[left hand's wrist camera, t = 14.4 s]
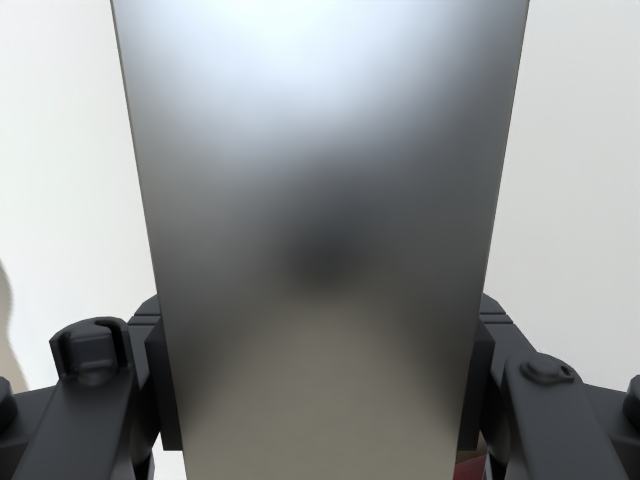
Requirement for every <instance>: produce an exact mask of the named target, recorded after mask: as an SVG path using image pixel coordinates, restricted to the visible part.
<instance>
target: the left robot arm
mask: <svg viewBox="0 0 640 480" xmlns="http://www.w3.org/2000/svg"><path fill="white" fill-rule="evenodd" d="M49 344H50V347H51V351H52V354H53V358H54V362H55V365H56V369H57V372H58V376H59V380H58V382H57V384H56V385H55V386H51V387H47V388H42V389H37V390H33V391H28V392H23V393H18V394H13V391H12V388H11V385H10V382H9V381H8V380H6V379H5V378H4V377H0V480H153V478H154V470H155V465H154V458H153V453H152V447H153V445H154V443H155V441H156V439H157V436H158V434H159V432H160V434H161V439H162V445H163V450H164V451H182V445H181V439H180V433H179V427H178V421H177V414H176V408H175V402H174V396H173V389H172V383H171V377H170V371H169V364H168V358H167V352H166V346H165V339H164V333H163V327H162V321H161V315H160V308H159V302H158V296H157V294H156V295H155V296H153V297H151V298H150V299H148V300H147V301H145V302H143V303H142V305H141V306H140V307H139V308H138V310H137V311H136V312H135V314H134V316H132V317H131V319H130V320H129V321H128V322H127V323H126V322H125V321H124V320H122V319H120V318H115V317H95V318H90V319H85V320H82V321H79V322H76V323H74V324H71V325H69V326H67V327H65V328H64V329H62V330H60V331H59V332H57V333H56V334H55V335H54V336H53V337H52V338H51V339H50V340H49ZM480 430H481V433H482V435H483V437H484V439H485V441H486V444H487V446H488V453H487V458H486V463H485V468H484V473H483V478H482V480H640V375H637V376H635V377H634V378H633V379H631V381H630V384H629V387H628V390H627V393H626V392H621V391H616V390H612V389H607V388H602V387H597V386H592V385H588V384H585V383H583V381H582V379H581V377H580V376H579V375H578V374H577V372H576V371H575V370H574V369H573V368H572V367H570V366H569V365H568V364H566V363H565V362H563V361H562V360H559V359H557V358H555V357H552V356H550V355H547V354H543V353H539V352H537V351H536V350H535V349H534V347H533V346H532V345H531V344H530V342H529V341H528V340H527V339H526V337H525V336H524V335H523V334H522V332H521V331H520V330H519V329H518V327H517V326H516V325H515V324H513V321H512V320H511V318H510V317H509V316H508V315H506V312H505V311H504V310H503V308H502V307H501V306H500V305H499V303H498V302H497V301H496V300H494V299H492V298H491V297H489V296H488V295H486V294H484V293H483V294H482V301H481V307H480V313H479V319H478V326H477V332H476V338H475V344H474V351H473V357H472V363H471V369H470V375H469V382H468V388H467V394H466V400H465V407H464V413H463V419H462V425H461V432H460V438H459V444H458V450H457V451H476V449H477V443H478V438H479V432H480Z"/></svg>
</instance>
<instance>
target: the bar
mask: <svg viewBox="0 0 640 480" xmlns="http://www.w3.org/2000/svg"><path fill="white" fill-rule="evenodd" d="M529 1H530V0H110V3H111V9H112V15H113V22H114V28H115V34H116V40H117V47H118V53H119V59H120V65H121V71H122V78H123V84H124V90H125V96H126V103H127V109H128V115H129V121H130V128H131V134H132V140H133V146H134V152H135V159H136V165H137V171H138V177H139V184H140V190H141V196H142V202H143V209H144V215H145V221H146V227H147V234H148V240H149V246H150V252H151V258H152V265H153V271H154V277H155V283H156V290H157V296H158V302H159V308H160V315H161V321H162V327H163V333H164V339H165V346H166V352H167V358H168V364H169V371H170V377H171V383H172V389H173V396H174V402H175V408H176V414H177V421H178V427H179V433H180V439H181V445H182V452H183V458H184V464H185V470H186V477H187V480H453V475H454V469H455V463H456V457H457V450H458V444H459V438H460V432H461V425H462V419H463V413H464V407H465V400H466V394H467V388H468V382H469V375H470V369H471V363H472V357H473V351H474V344H475V338H476V332H477V326H478V319H479V313H480V307H481V301H482V294H483V288H484V282H485V276H486V269H487V263H488V257H489V251H490V244H491V238H492V232H493V226H494V220H495V213H496V207H497V201H498V195H499V188H500V182H501V176H502V170H503V163H504V157H505V151H506V145H507V138H508V132H509V126H510V120H511V114H512V107H513V101H514V95H515V89H516V82H517V76H518V70H519V64H520V57H521V51H522V45H523V39H524V32H525V26H526V20H527V14H528V7H529Z"/></svg>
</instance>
